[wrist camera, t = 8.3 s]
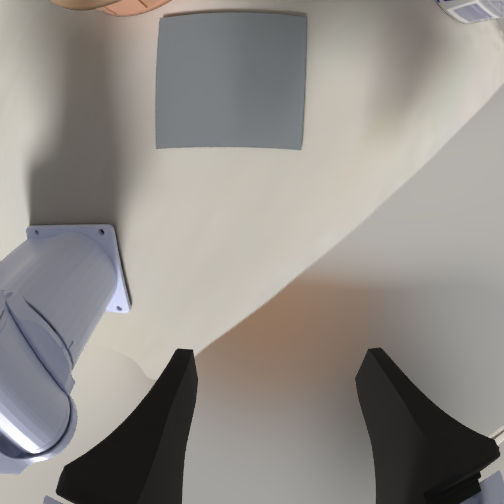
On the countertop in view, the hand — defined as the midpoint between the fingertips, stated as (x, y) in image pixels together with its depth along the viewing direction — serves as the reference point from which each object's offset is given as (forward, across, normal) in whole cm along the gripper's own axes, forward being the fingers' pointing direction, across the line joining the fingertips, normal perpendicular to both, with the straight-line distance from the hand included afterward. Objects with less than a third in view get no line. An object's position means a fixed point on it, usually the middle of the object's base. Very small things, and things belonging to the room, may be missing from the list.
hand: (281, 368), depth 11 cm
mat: (+10, +3, -12) cm, 16 cm away
